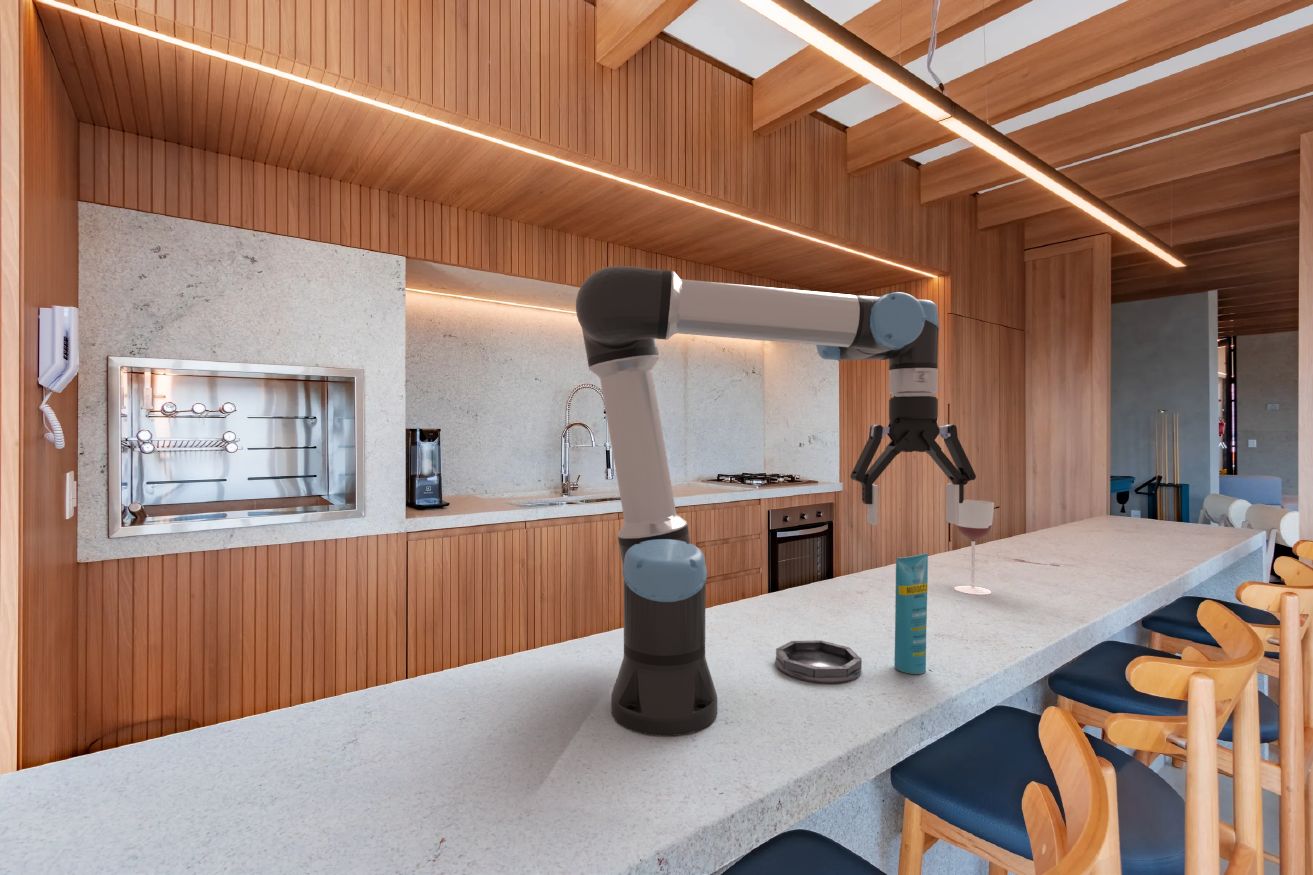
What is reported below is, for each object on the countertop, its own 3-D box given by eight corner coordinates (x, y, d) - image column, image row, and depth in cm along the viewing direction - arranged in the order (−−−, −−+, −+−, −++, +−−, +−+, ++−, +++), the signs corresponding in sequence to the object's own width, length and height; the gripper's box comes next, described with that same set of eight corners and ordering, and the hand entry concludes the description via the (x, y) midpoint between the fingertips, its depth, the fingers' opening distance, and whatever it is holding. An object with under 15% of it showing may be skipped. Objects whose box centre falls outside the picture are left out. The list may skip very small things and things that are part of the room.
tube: (909, 678, 100) (910, 560, 100) (883, 668, 104) (885, 554, 104) (936, 668, 104) (938, 555, 104) (910, 659, 108) (912, 550, 108)
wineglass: (960, 594, 151) (961, 503, 150) (948, 584, 160) (949, 499, 160) (998, 596, 149) (1000, 504, 149) (984, 585, 159) (985, 500, 158)
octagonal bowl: (787, 684, 98) (788, 670, 98) (767, 652, 112) (767, 640, 112) (875, 683, 99) (875, 669, 98) (843, 651, 112) (844, 638, 112)
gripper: (847, 394, 99) (847, 528, 99) (999, 394, 100) (998, 526, 100) (831, 397, 106) (831, 520, 107) (973, 396, 107) (972, 519, 108)
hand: (912, 523), depth 103 cm, fingers open, 13 cm apart
